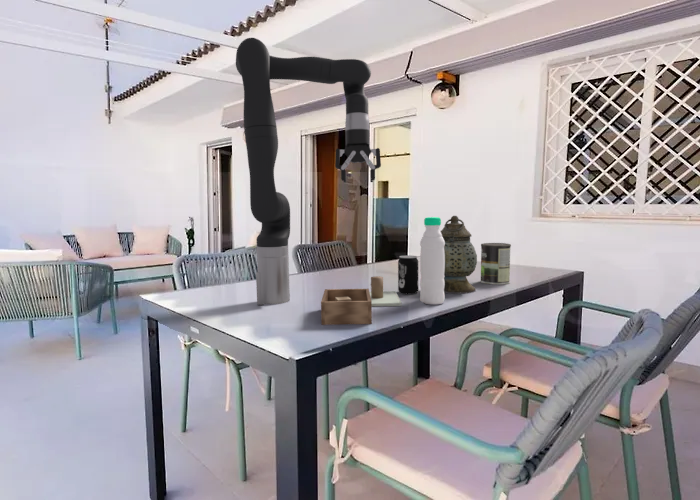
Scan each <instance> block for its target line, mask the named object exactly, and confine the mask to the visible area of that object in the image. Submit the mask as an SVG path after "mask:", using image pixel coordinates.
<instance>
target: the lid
mask: <svg viewBox="0 0 700 500" xmlns="http://www.w3.org/2000/svg"><path fill="white" fill-rule="evenodd" d="M369 292H370V297H371V301H372V307H402V306H403V304H402V301H401V299H400V297H399V295H398V294H397V292H396V290H395V291H389V290H388V291H384V277H383V276H379V275H378V276H371V277H370V291H369Z"/></svg>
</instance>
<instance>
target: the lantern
mask: <svg viewBox="0 0 700 500" xmlns="http://www.w3.org/2000/svg"><path fill="white" fill-rule="evenodd" d="M449 222H450V223H449ZM459 222H460V223H459ZM443 226H444V227H443V228H442V229H441V230H440V232H441V234H442V237H443V239H444V241H445V246H444V253H445V270H444V282H445V286H444V294H456V295H461V294H473V293H474V292H476V290H477V289H476V287H474V286H473V285H472V284H471V283H470V281H468V279H467V277H470V276H471V275H472V274H473V273H474V271H475V270H476V266H477V263H478V254H477V252H476V249H475V246H474V245H473V244H472V242H471V237H472V234H471V232H470V231H469V230H468V229H467V228H466V226H465V222H464V221H463V220H461V219H460V218H459V216H457V215H453V216H451V217H450V218H449V219H447V221H446V222H445V224H444V225H443Z"/></svg>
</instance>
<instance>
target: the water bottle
mask: <svg viewBox="0 0 700 500" xmlns="http://www.w3.org/2000/svg"><path fill="white" fill-rule="evenodd" d="M423 224H424V227H425V231H424V232H423V235H422V237H421V238H420V241H419V242H420V243H419V245H420V258H419V259H420V261H419V263H420V264H419V266H420V270H419V273H420V283H419V286H420V293H419V300H420V302H422V304H424V305H431V306H437V305H441V304H443V303H444V302H445V293H444V286H445V282H444V277H445V276H444V270H445V253H444V246H445V241H444V239H443V237H442V234H441V232H440V231H441V230H440V228H441V224H442V220H441V218H440V217H439V216H438V217H433V216H431V217H424V220H423Z"/></svg>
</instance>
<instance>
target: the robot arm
mask: <svg viewBox="0 0 700 500" xmlns="http://www.w3.org/2000/svg"><path fill="white" fill-rule="evenodd" d="M235 68H236V70H237V72H238V74H239V75H240V76H241V79H242V86H243V131H244V138H245V139H244V140H245V147H246V155H247V162H248V170H249V198H250V199H249V201H250V210H251V214H252V216H253V218H254V219H255V220H256V221H258V222H259V223H261V230H260V232H259V234H258V236H257V237H256V259H257V260H256V262H257V263H256V265H257V272H255V273H256V274H255V279H256V280H255V282H256V284H255V285H256V305H259V306H264V305H281V304H286V303H289V302H290V301H291V292H290V291H291V290H290V268H289V267H290V266H289V265H290V264H289V263H290V261H289V260H290V259H289V238H290V235H291V206H290V202H289V199H288V198H287V197H286V196H285V194H283V193H281V192H278V191H277V189H276V184H275V166H276V160H277V156H278V150H279V139H278V138H279V137H278V128H277V121H276V115H275V109H274V102H273V98H272V94H271V93H272V92H271V80H288V81H289V80H290V81H291V80H292V81H302V82H310V83H312V82H313V83H316V84H317V83H319V84H325V85H334V84H337V83H342V86H343V90H344V91H343V93H344V97H345V121H344V122H345V123H344V124H345V127H344V129H345V147H344V149H340V148H336V149H335V165H334V166H335V169H337V170H340V176H341V177H340V178H341V181H342V182H343V184H344V183H347V180H346V179H347V177H346V175H347V174H346V173H347V172H346V169H347V167H348V166H350V163H353V164H357V163H359V164H363V163H366V165H367V166H368V167H369V169H370V170H369V171H370V174H369V175H370V177H369V181H370V183H373V182H374V181H375V180H376V170H377V169H380V168H381V166H382V163H381V148H380V147H377V148H371V144H370V143H371V142H370V136H371V135H370V128H371V127H370V116H369V99H368V97H367V96H366V95H365V94H366V93H365V84H367V83H368V81H369V80H370V78H371V75H372V70H371V68H370V65H369V64H368V63H367V62H365V61H364V60H360V59H356V58H353V59H352V58H351V59H350V58H346V59H345V58H344V59H332V58H327V57H319V56H301V57H300V56H299V57H288V58H287V57H276V56H272V55H270V52H269V50H268V48H267V46H266V45H265V43H263V42H262V41H261V40H260V39H258V38H255V37H248V38H245V39H243V40H242V41H241V42H240V43H239V45H238V46H237V50H236V55H235ZM343 154H344V155H345V157H347V158H346V160H345V161H344V162H343V164H342V165H341V164H340V160H341V158H340V157H342V156H343ZM371 154H373V156H374V157H375V161H376V163H375V164H374V163H373V162H372V160H371V159H370V158H369V157H370V155H371Z"/></svg>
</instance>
